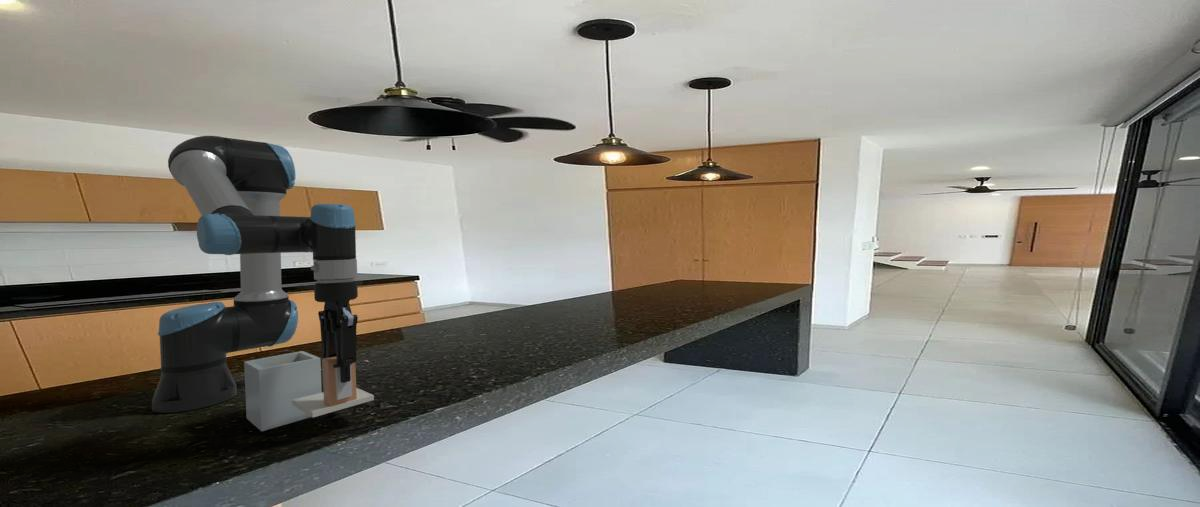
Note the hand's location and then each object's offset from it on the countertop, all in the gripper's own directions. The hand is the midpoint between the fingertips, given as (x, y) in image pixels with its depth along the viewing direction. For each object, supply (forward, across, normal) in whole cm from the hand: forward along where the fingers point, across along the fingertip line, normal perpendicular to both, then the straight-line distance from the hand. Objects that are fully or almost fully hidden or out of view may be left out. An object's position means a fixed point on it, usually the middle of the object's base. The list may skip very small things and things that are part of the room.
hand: (340, 395), depth 89 cm
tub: (+7, -17, -5) cm, 19 cm away
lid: (+2, -4, 0) cm, 4 cm away
